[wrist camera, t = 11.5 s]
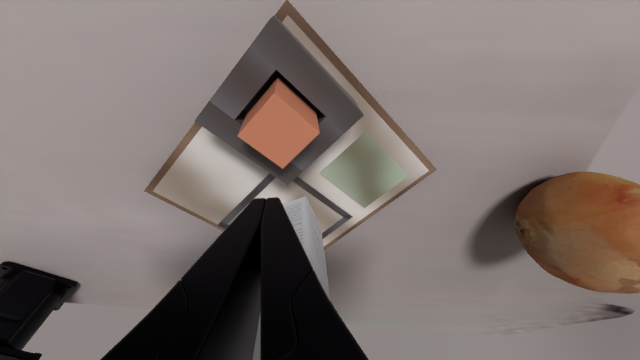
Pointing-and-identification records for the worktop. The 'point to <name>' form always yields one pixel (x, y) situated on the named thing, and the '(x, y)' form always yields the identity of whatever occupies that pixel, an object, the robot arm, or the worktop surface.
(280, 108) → the button
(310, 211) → the skincare box
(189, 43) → the worktop surface
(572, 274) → the onion
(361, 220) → the square tray
